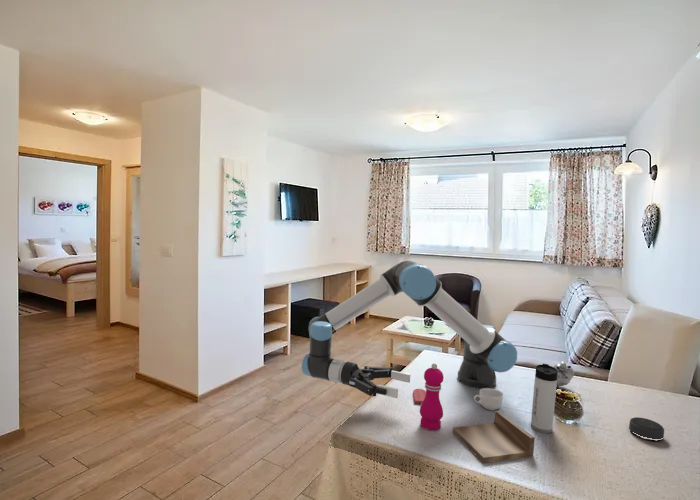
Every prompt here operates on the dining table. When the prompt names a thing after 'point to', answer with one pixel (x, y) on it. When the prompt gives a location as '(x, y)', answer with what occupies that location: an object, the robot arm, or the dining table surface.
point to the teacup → (490, 398)
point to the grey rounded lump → (563, 374)
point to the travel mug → (544, 398)
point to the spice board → (497, 439)
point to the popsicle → (419, 396)
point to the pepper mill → (432, 399)
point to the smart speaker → (646, 428)
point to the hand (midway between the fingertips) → (404, 385)
